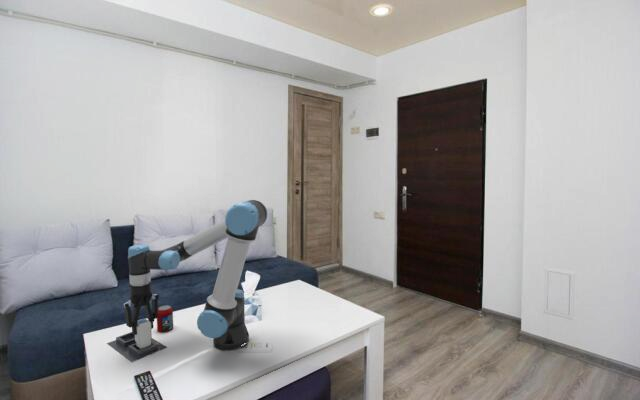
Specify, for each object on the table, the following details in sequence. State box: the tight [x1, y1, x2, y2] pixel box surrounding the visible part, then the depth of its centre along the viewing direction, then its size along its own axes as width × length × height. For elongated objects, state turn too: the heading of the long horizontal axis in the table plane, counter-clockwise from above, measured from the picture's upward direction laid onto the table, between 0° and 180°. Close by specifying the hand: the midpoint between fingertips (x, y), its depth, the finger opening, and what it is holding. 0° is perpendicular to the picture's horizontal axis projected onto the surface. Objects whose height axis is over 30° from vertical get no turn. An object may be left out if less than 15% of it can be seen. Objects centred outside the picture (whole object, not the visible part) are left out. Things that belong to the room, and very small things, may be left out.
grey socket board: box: [106, 331, 168, 363], centre depth 140 cm, size 24×14×4 cm, turn 53°
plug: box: [136, 318, 151, 349], centre depth 136 cm, size 4×4×11 cm
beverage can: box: [156, 304, 174, 334], centre depth 154 cm, size 7×7×12 cm
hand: (143, 339), depth 136 cm, fingers closed on plug, 4 cm apart
